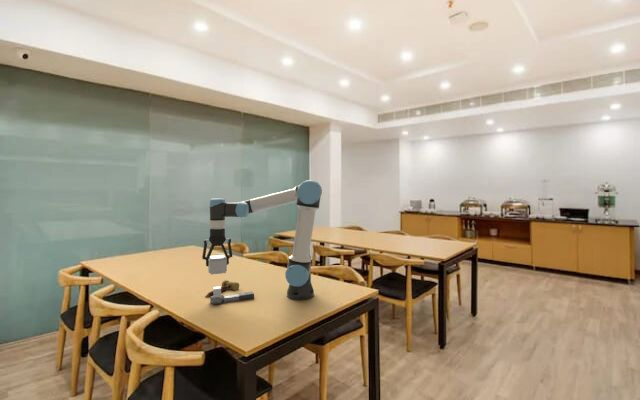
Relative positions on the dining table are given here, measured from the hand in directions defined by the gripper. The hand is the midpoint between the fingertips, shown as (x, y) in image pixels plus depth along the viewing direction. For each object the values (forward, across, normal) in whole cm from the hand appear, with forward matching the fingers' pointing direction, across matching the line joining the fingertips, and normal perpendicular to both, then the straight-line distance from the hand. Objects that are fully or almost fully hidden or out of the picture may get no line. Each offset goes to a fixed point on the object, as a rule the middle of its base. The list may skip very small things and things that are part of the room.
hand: (217, 271), depth 168 cm
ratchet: (+16, -8, 0) cm, 18 cm away
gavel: (+17, -3, -16) cm, 24 cm away
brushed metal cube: (0, 0, 0) cm, 0 cm away
